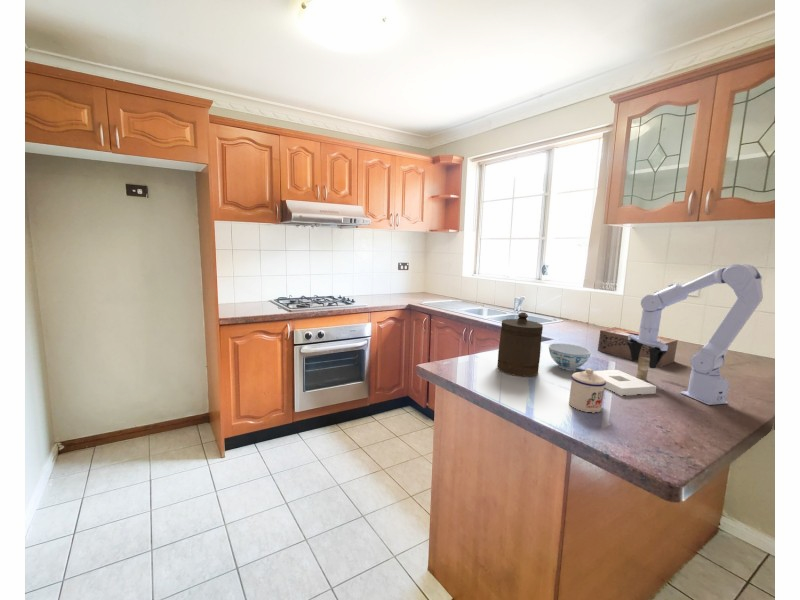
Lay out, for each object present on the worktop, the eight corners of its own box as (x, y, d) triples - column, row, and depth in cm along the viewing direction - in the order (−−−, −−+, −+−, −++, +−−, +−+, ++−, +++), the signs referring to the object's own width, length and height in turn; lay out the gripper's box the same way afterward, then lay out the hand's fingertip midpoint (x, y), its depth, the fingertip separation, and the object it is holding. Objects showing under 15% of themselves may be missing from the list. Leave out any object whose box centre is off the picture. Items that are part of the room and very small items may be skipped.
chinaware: (597, 372, 142) (600, 353, 141) (567, 376, 137) (569, 355, 135) (566, 360, 156) (569, 342, 155) (538, 363, 150) (540, 344, 149)
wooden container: (529, 364, 148) (535, 309, 145) (544, 377, 134) (551, 317, 130) (492, 362, 148) (497, 308, 144) (503, 376, 133) (509, 316, 130)
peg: (648, 380, 136) (651, 359, 135) (641, 381, 135) (644, 359, 134) (641, 377, 139) (644, 356, 138) (634, 377, 138) (637, 357, 137)
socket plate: (655, 393, 124) (656, 386, 123) (620, 395, 120) (621, 388, 120) (616, 376, 139) (617, 369, 139) (585, 377, 136) (585, 371, 135)
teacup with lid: (589, 416, 104) (595, 376, 103) (561, 403, 112) (565, 366, 110) (614, 408, 110) (619, 370, 109) (585, 396, 118) (590, 361, 116)
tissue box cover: (597, 350, 174) (600, 330, 172) (612, 347, 182) (615, 327, 181) (660, 367, 153) (664, 344, 152) (673, 362, 162) (677, 339, 160)
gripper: (677, 332, 128) (670, 370, 130) (640, 323, 142) (635, 357, 144) (660, 333, 126) (654, 371, 128) (625, 323, 140) (620, 358, 142)
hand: (643, 364), depth 136 cm, fingers open, 7 cm apart
